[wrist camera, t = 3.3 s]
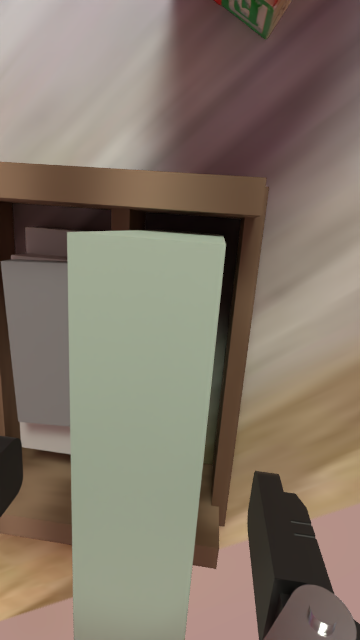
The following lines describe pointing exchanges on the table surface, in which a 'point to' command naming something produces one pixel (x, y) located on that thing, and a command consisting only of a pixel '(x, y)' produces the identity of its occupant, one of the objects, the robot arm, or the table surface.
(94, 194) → the rack
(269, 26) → the stack of blocks
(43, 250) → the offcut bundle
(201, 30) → the table surface
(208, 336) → the tall sheet
